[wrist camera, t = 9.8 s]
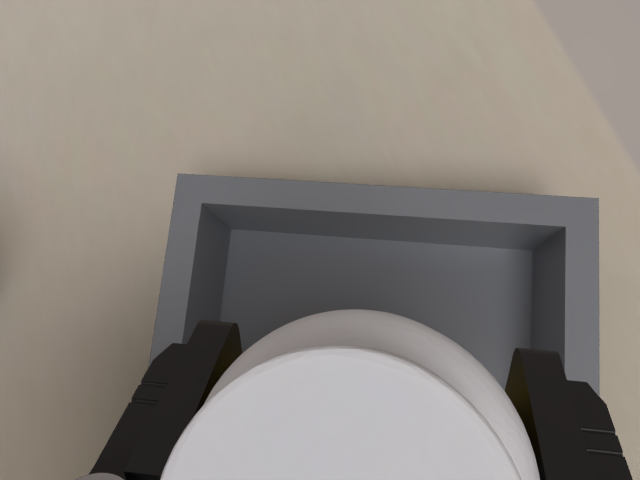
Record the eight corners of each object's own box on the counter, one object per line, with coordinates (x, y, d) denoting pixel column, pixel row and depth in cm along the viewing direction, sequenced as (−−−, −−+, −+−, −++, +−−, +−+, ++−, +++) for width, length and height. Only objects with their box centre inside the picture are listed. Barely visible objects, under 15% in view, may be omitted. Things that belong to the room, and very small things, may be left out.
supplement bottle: (351, 293, 16) (297, 184, 6) (516, 417, 15) (747, 506, 5) (231, 451, 15) (-20, 586, 6) (393, 594, 14) (404, 1050, 5)
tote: (166, 589, 22) (105, 655, 17) (217, 210, 25) (177, 173, 20) (547, 646, 20) (601, 738, 15) (552, 232, 23) (598, 198, 18)
